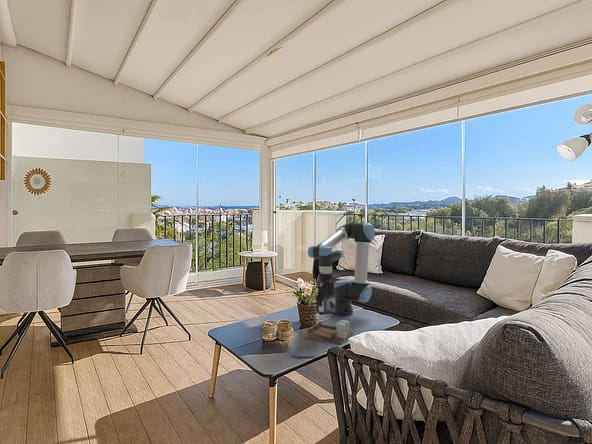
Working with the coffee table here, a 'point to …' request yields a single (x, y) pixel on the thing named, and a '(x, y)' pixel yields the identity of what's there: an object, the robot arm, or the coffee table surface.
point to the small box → (327, 304)
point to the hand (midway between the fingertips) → (325, 308)
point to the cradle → (330, 332)
